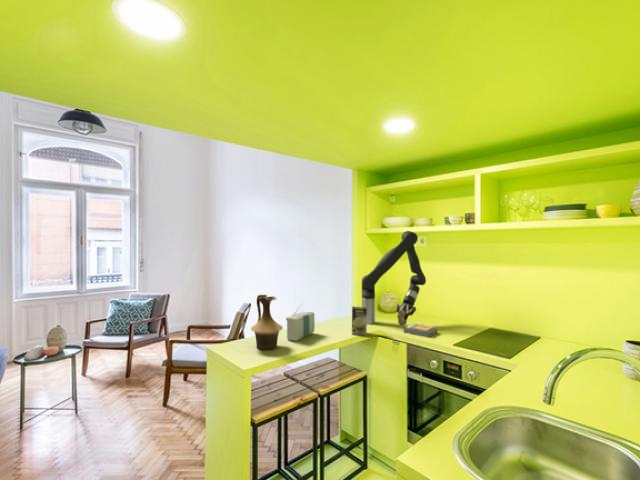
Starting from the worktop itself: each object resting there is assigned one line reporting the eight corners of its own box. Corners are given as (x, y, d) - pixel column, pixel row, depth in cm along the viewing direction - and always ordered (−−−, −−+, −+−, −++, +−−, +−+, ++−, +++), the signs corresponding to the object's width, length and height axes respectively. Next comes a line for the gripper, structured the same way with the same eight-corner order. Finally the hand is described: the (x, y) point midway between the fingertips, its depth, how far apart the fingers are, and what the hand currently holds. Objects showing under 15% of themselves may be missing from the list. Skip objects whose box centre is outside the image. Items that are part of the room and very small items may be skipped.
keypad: (403, 332, 200) (403, 326, 200) (413, 328, 209) (413, 322, 209) (428, 337, 189) (428, 331, 189) (437, 333, 198) (437, 326, 198)
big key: (412, 330, 197) (412, 327, 197) (420, 327, 205) (420, 324, 205) (426, 333, 191) (426, 330, 191) (434, 330, 199) (434, 326, 199)
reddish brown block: (398, 324, 211) (398, 311, 211) (401, 323, 214) (401, 310, 214) (403, 325, 208) (403, 312, 209) (406, 324, 211) (406, 311, 212)
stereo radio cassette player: (297, 342, 179) (297, 306, 180) (284, 340, 183) (285, 305, 184) (315, 333, 198) (315, 301, 198) (303, 331, 202) (303, 300, 202)
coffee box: (351, 334, 194) (351, 308, 195) (351, 332, 201) (351, 306, 201) (366, 335, 193) (366, 308, 194) (366, 332, 200) (366, 306, 200)
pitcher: (243, 347, 170) (243, 294, 170) (267, 340, 183) (267, 291, 183) (265, 354, 159) (265, 298, 159) (289, 346, 172) (289, 294, 172)
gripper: (399, 293, 223) (390, 313, 213) (418, 296, 213) (409, 317, 204) (402, 300, 226) (394, 320, 217) (421, 303, 217) (413, 324, 208)
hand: (401, 318), depth 211 cm, fingers closed on reddish brown block, 4 cm apart
